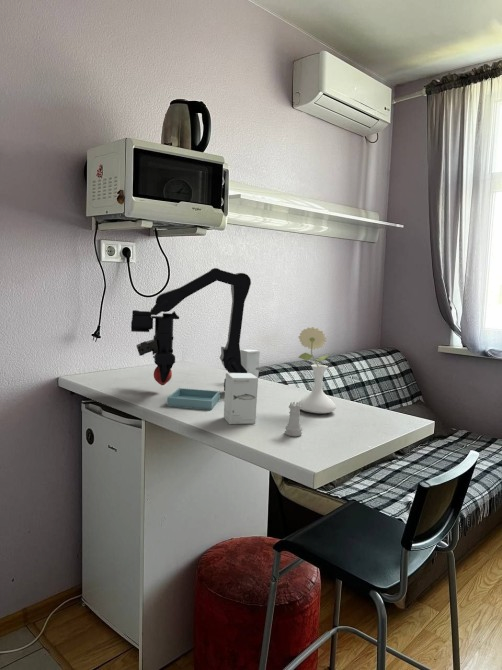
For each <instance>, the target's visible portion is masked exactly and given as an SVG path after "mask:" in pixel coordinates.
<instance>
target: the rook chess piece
mask: <svg viewBox="0 0 502 670" xmlns="http://www.w3.org/2000/svg"><path fill="white" fill-rule="evenodd" d="M298 402H299V401H298ZM298 402H295V401H291V402H290V404H289V406H288V408H289V418H288V422H287V425H286V426H285V428H284V429H285V430H284V434H286V436H287V437H296V438H297V437H301V436H302V434H303V432H302V431H303V428H302V426H301V425H302V424H301V422H300V414H301V412H300V410H302V409H301V408H302V407H301V406H300V403H299V404H298Z"/></svg>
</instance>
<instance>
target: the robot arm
mask: <svg viewBox="0 0 502 670" xmlns="http://www.w3.org/2000/svg"><path fill="white" fill-rule="evenodd" d="M216 282H221V283H223V284H227V285H230V294H231V300H232V301H231V309H230V317H229V318H230V319H229V324H228V325H229V327H228V334H227V340H226V341H227V342H226V344H225V346H220V351H221V353H220V356H219V359H220V361H221V364H222V366H223V367H224V368H225V370H226V371H227V373H247V370H246V369H245V368H244V367H243V366H242V365H241V353H240V350H241V346H240V343H241V332H242V324H243V318H244V317H243V315H244V307H245V303H246V302H245V301H246V299H247V296H248V294H249V292H250V288H251V284H252V279H251V277H250V276H249V275H248V274H246V273H244V272H237V273H232V272H228V271H225V270H222V269H219V268H218V267H214V268H211V269H209V271H207V272H205V273H204V274H202V275H200V276H198V277H196V278H195V279H193V280H191V281H189V282H186V283H185V284H183V285H181V286H180V287H176V288H174V289H172V290H168V291H165V292H162V293H160V294H159V295H157V297H156V299H155V304H154V306H153V307H151V308H150V310H137V309H135V310H134V309H133V310H132V316H131V317H132V318H131V323H130V324H131V325H130V327H131V329H130V330H131V331H130V332H132V333H136V332H137V333H150V331H151V330H153V329H154V335H153V337H152V339H150V340H147V341H142V342H140V343H137V344H136V349H137V353H138V355H139V356H144V355H145V354H147V353H151V352H152V357H153V359H154V364H155V365H156V367H157V366H159V370H160V376H161V382H162V383H165V381H166V379H167V377H168V374H169V372H170V370H171V371H172V368H173V366H174V364H175V363H176V356H175V354H174V349H173V346H174V345H173V344H174V341H173V340H174V320H179V319H180V316H179V315H178V314H177V313H176V311H175V310H173V309H174V308H176V306H178V305H179V304H180V303H181V302H182V301H184V299H185V300H186V298H188V297H190V296H191V295H193V294H195V293H197V292H199V291H201V290H202V289H204V288H205V287H207V286H209V285H211V284H213V283H216ZM172 310H173V311H172ZM170 311H172V312H170ZM162 312H163V313H162ZM167 312H170V313H167ZM161 313H162V315H159V314H161ZM154 320H155V321H154ZM223 381H224V382H223V383H224V384H223V391H224V395H225V381H226V377H225V378H224V380H223Z"/></svg>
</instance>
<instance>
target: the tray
mask: <svg viewBox="0 0 502 670" xmlns="http://www.w3.org/2000/svg"><path fill="white" fill-rule="evenodd" d="M166 400H167V401H166V406H167V407H171V408H184V409H194V410H205V411H207V410H209V411H212V410H213V408H215V406H216V405H217V404H218V403H219V401H220V400H221V391H220V390H210V389H197V388H196V389H195V388H184V387H183V388H182V387H179V388H177V389H176V390H175V391H174V392H172V393H171V394H170V395H168V396H167V399H166Z"/></svg>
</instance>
